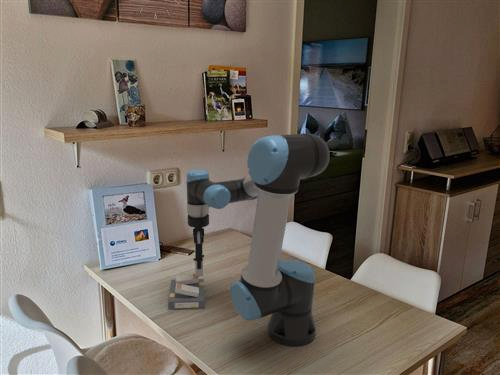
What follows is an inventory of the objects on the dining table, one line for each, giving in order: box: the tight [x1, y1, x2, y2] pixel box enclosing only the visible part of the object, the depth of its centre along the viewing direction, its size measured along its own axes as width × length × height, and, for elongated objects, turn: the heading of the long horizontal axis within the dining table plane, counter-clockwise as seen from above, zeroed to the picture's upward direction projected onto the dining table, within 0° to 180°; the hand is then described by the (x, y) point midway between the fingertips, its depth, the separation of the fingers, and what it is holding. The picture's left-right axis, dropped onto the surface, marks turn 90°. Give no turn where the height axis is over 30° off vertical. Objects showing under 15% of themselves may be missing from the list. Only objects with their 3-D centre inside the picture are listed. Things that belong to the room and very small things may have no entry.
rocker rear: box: [175, 273, 200, 284], centre depth 161 cm, size 4×8×2 cm, turn 97°
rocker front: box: [175, 283, 199, 297], centre depth 153 cm, size 4×8×2 cm, turn 97°
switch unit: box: [168, 278, 206, 311], centre depth 157 cm, size 16×12×4 cm
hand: (199, 275), depth 161 cm, fingers closed
